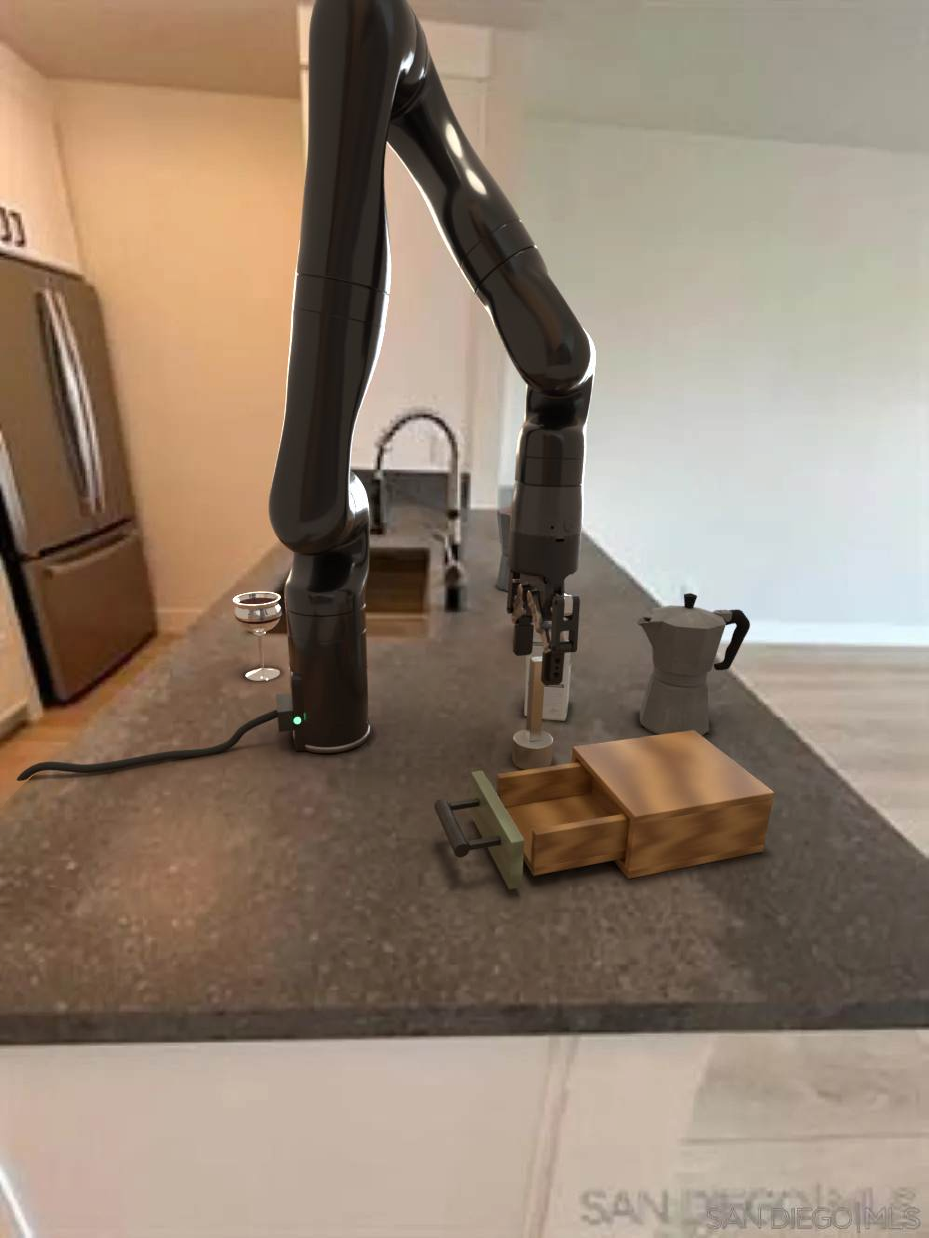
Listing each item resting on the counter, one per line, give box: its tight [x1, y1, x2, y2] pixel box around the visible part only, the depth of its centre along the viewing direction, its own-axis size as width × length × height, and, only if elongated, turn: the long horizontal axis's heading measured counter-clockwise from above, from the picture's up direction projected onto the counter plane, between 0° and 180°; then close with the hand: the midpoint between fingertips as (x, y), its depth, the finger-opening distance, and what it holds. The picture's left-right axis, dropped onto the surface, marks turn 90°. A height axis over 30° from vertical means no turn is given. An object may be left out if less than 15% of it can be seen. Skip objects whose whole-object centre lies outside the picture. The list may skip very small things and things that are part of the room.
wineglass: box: [232, 591, 283, 682], centre depth 100 cm, size 7×7×12 cm
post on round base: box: [511, 657, 554, 770], centre depth 78 cm, size 5×5×13 cm
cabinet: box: [571, 730, 775, 880], centre depth 67 cm, size 15×13×7 cm
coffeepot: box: [636, 592, 751, 737], centre depth 87 cm, size 15×9×18 cm, turn 101°
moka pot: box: [496, 505, 511, 592], centre depth 148 cm, size 10×15×20 cm, turn 171°
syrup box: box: [523, 621, 573, 722], centre depth 90 cm, size 6×6×14 cm
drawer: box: [433, 762, 630, 890], centre depth 63 cm, size 18×11×5 cm, turn 107°
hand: (536, 668), depth 76 cm, fingers open, 8 cm apart
